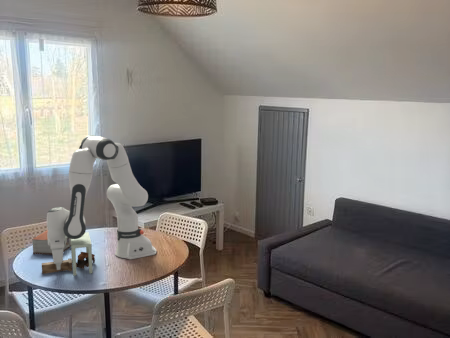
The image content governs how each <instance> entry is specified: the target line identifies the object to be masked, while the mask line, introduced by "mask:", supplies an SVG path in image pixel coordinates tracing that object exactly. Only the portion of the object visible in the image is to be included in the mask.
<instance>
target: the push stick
mask: <svg viewBox="0 0 450 338" xmlns="http://www.w3.org/2000/svg"><path fill="white" fill-rule="evenodd" d="M66 270H67V271H68V272H73V263H72V257H70V258H68V259H63V261H62V264H61V270H57V267H56V264H54V261H47V262H42V263H41V274H42V275H45V274H51V273H58V272H59V271H60V272H66Z"/></svg>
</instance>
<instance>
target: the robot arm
mask: <svg viewBox="0 0 450 338" xmlns="http://www.w3.org/2000/svg"><path fill="white" fill-rule="evenodd" d="M97 159H99V160H103V161H106V163H107V168H108V171H109V174H110V178H111V180H112V181H113V182H114V184H111V185H109V187H108V188H107V190H106V197H107V199H108V200H109V201H110V203H111V204H112V206H113V209H114V211H115V215H116V221H117V222H116V223H117V229H116V240H117V242H116V244H117V245H116V250H115V254H114V255H115V256H116V257H118V258H122V259H127V260H135V259H139V258H143V257H144V258H145V257H149V256H154V255H156V254H157V249H156V248H155V246H153V244H152V241H151V239H150V238H148V237H147V236H145V235H144V232H145V231H144V230H143V229H141V228H140V227H139V216H138V213H137V212H136V211H135V210H134V209H133V207H135V208H137V207H143V206H145V205H146V203H147V202H148V199H149V194H148V191H147V190H146V189H145V188H143V186H141V185H140V183H139V182H138V180H137V178H136V177H135V175H134V173H133V171H132V167H131V164H130V160H129V157H128V154H127V151H126V149H125V148H124V145H123V144H122V143H120V142H114V141H113V140H112V139H110V138H106V137H105V136H104V137H103V136H100V135H99V136H98V135H94V134H93V135H87V136H85V137H84V138H83V139H82V140H81V142H80V145H79V148H78V149H77V150H74V152H73V153H72V156H71V158H70V162H69V170H68V185H69V190H70V191H69V193H70V205H69V210H68V209H66V208H65V207H63V206H56V207H53V208H51V209H49V210H48V212H47V213H46V229H47V230H48V233H47V238H48V245H49V246H50V249H52V254H53V255H52V259H53V262H54V264H56V267H57V270H61V264H62V261H63V260H64V252H63V249H64V247H65V244H66V243H67V237H68V238H70V239H78V238H80V237H82V236H83V235H84V234H85V232H87V231H86V230H87V228H86V217H85V215H84V211H85V210H84V209H85V200H86V197H87V194H88V191H89V189H90V186H91V183H92V178H93V174H94V173H93V172H94V165H95V162H96V160H97Z"/></svg>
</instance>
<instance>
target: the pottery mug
mask: <svg viewBox="0 0 450 338" xmlns="http://www.w3.org/2000/svg"><path fill="white" fill-rule="evenodd" d="M95 262H96V258H95V254H93V253H92V264H95ZM85 267H86V268H89V255H88V253H86V252H85V251H80V252H79V254H78V255H77V259H76V268H78V269H83V270H84V269H85Z"/></svg>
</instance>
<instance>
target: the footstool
mask: <svg viewBox="0 0 450 338" xmlns="http://www.w3.org/2000/svg"><path fill="white" fill-rule="evenodd" d="M81 248H85V251H86V253H88V255H89V267H88V274H93V273H94V272H93V260H92V254H93V251H92V250H93V249H92V240H91V237H90V232H89V231H85V234H84V235H83V236H82V237H80V238H78V239H71V247H70V251H71V253H70V254H71V260H72V274H73V276H74V277H76V276H77V267H76V263H77V256H76V252H77V251H76V249H81Z"/></svg>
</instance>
